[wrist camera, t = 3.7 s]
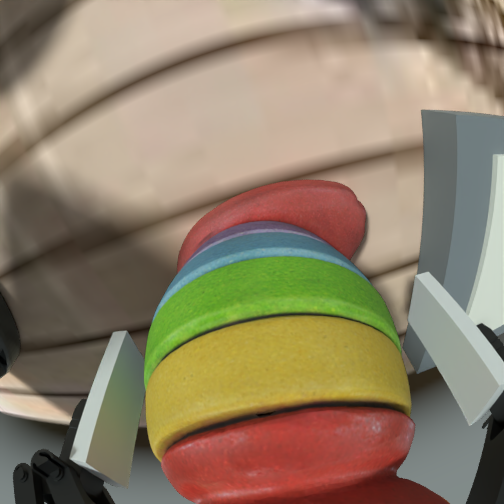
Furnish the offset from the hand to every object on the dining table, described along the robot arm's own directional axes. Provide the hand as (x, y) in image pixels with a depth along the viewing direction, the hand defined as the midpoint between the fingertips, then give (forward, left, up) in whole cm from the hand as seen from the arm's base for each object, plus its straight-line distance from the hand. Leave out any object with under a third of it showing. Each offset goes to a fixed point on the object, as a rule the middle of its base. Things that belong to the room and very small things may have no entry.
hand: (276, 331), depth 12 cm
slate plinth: (+20, -1, -5) cm, 21 cm away
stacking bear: (0, 0, -5) cm, 5 cm away
